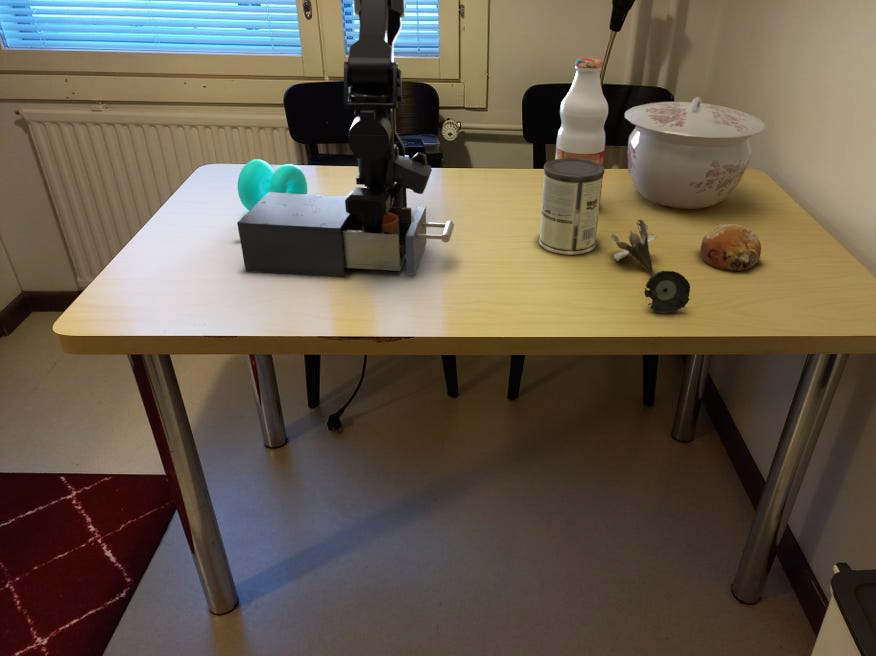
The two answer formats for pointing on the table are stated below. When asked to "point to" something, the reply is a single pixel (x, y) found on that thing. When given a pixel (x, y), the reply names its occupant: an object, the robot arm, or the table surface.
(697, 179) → the chamber pot
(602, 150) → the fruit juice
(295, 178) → the donuts
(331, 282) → the table surface
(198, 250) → the table surface
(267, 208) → the black drawer cabinet
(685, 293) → the artificial flower
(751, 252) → the bread roll
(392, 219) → the flower pot
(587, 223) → the coffee can
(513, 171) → the table surface
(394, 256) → the drawer
